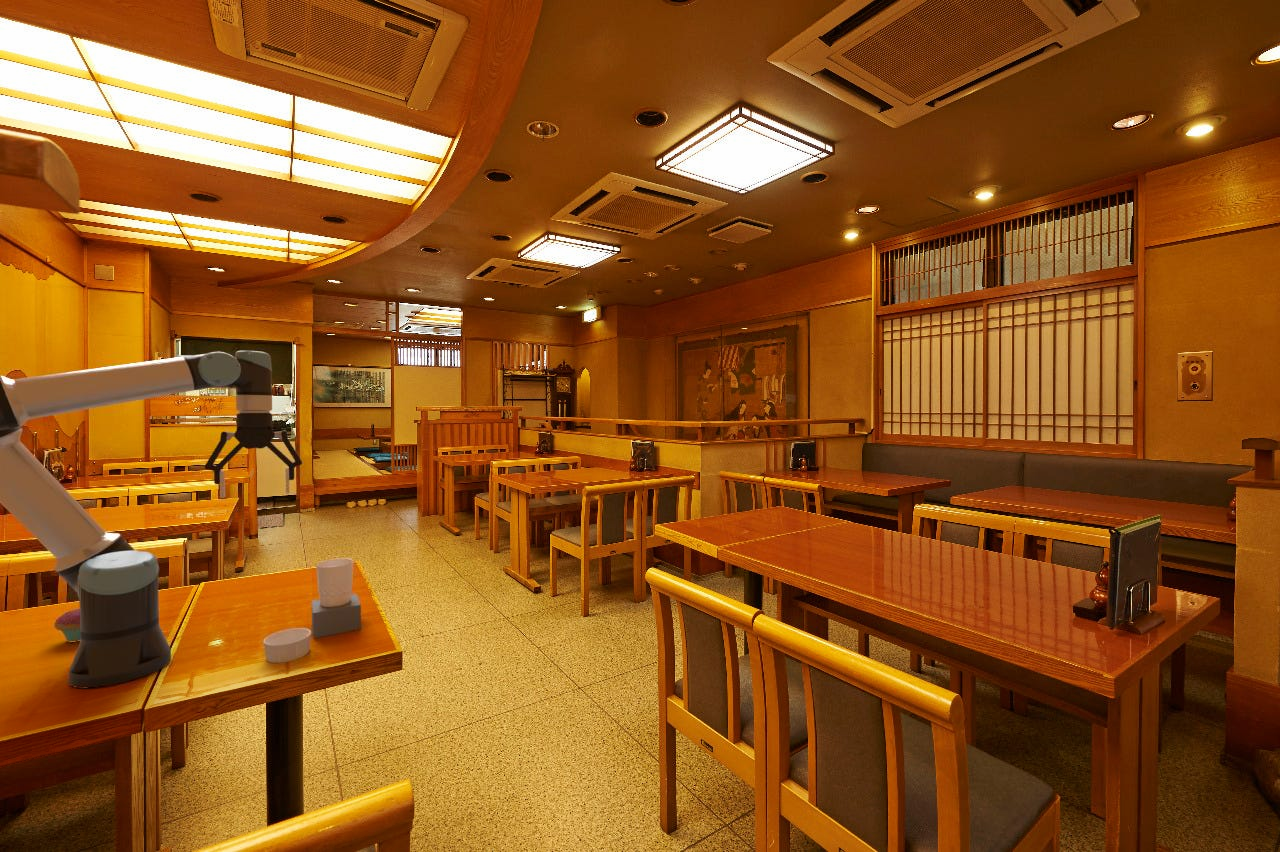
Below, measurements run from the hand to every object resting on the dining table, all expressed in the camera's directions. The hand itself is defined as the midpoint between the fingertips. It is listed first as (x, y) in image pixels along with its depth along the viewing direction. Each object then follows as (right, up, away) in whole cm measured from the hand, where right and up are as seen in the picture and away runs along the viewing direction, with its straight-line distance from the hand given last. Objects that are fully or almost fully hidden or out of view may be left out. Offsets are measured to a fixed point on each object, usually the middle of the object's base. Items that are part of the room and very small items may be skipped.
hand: (256, 495), depth 139 cm
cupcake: (-32, -32, -12) cm, 47 cm away
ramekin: (+22, -33, -21) cm, 44 cm away
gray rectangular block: (+24, -32, -5) cm, 40 cm away
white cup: (+24, -26, -5) cm, 36 cm away
